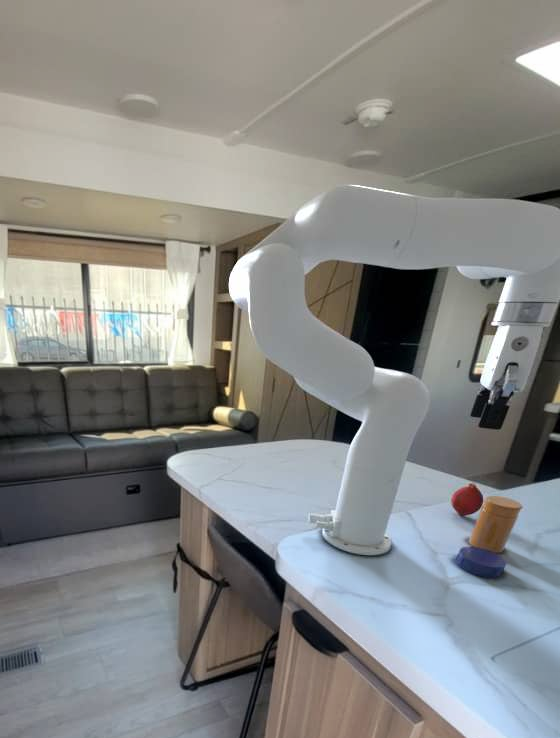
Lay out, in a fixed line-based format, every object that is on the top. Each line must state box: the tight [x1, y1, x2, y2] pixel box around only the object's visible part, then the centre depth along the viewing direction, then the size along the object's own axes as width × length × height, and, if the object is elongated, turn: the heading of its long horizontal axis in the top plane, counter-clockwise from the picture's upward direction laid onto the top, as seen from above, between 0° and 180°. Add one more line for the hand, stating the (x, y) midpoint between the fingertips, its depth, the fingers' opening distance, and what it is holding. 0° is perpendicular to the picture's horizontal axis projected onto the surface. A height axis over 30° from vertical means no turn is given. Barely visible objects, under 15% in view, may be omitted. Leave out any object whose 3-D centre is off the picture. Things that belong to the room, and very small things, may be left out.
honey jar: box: [468, 495, 524, 554], centre depth 77 cm, size 6×6×10 cm
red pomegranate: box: [450, 482, 484, 517], centre depth 90 cm, size 6×6×8 cm
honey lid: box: [455, 546, 507, 579], centre depth 72 cm, size 7×7×2 cm
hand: (484, 422), depth 72 cm, fingers open, 9 cm apart
